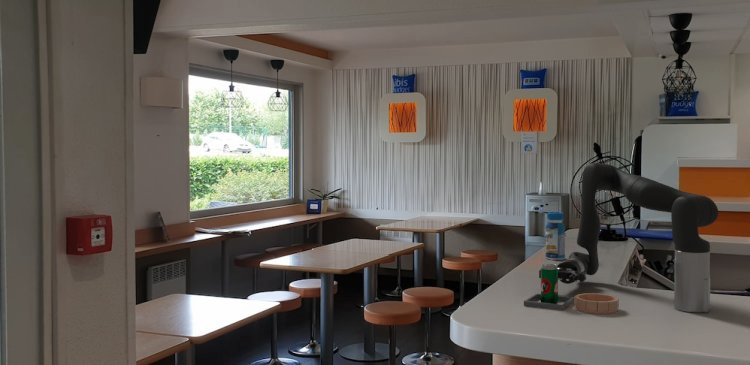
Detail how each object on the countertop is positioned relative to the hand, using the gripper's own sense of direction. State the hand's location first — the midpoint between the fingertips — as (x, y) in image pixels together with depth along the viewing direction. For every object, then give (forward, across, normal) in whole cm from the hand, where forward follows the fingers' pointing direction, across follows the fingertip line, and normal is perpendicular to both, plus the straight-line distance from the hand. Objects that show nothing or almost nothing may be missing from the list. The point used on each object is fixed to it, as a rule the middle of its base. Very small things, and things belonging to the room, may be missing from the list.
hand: (556, 278), depth 209 cm
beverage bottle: (-78, -23, +7) cm, 82 cm away
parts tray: (+7, 0, +7) cm, 10 cm away
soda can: (+7, 0, +7) cm, 10 cm away
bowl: (+7, +14, +7) cm, 17 cm away
